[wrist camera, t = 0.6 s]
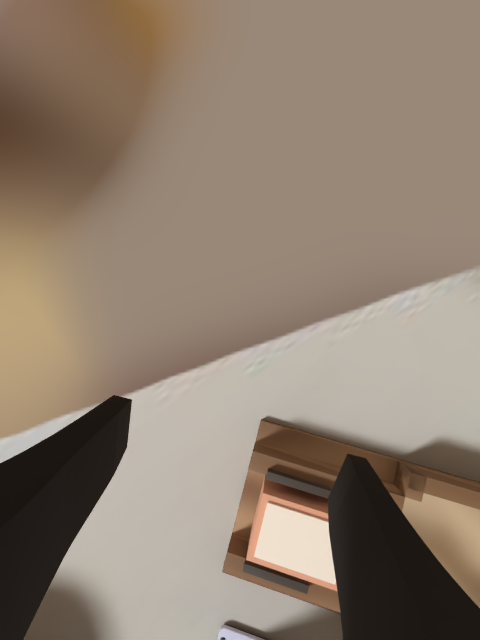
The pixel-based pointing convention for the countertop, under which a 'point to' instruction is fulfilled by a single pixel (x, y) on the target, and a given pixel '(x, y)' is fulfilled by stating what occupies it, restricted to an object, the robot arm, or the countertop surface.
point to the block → (292, 534)
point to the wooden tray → (318, 478)
